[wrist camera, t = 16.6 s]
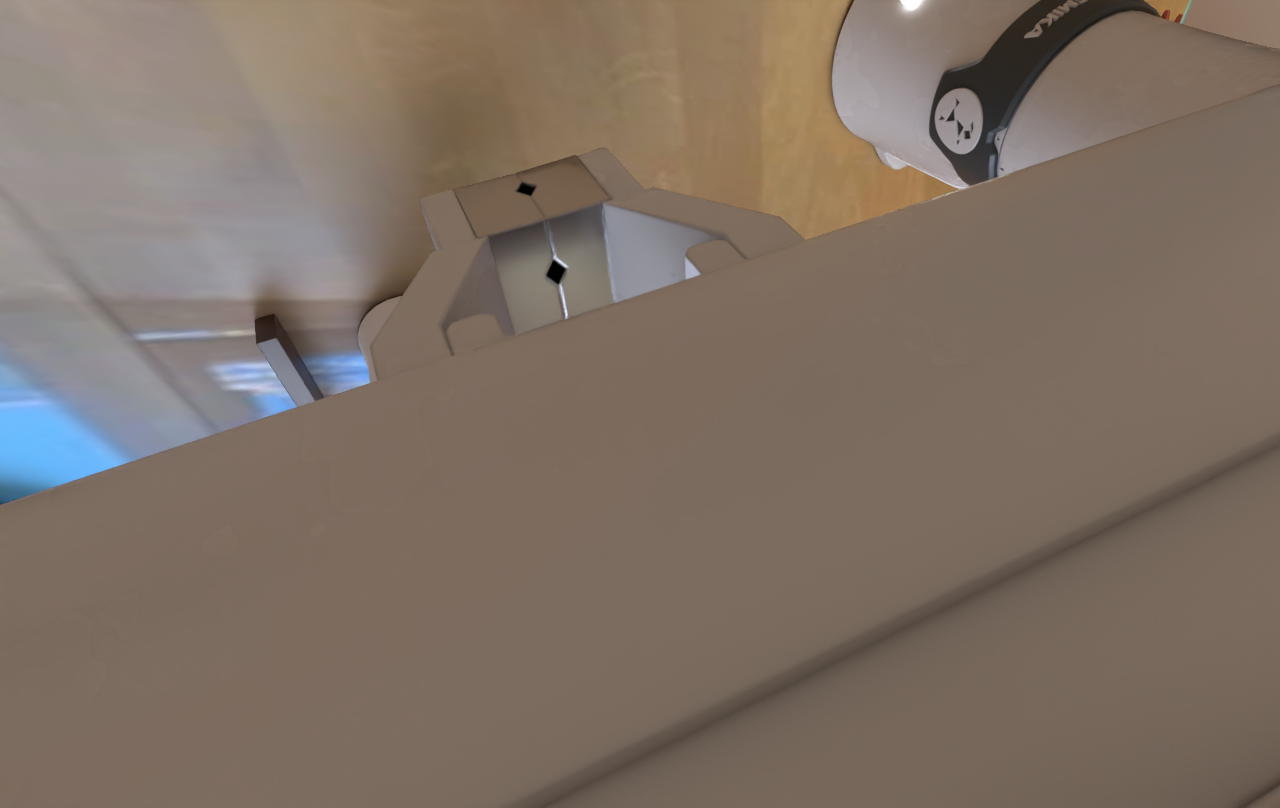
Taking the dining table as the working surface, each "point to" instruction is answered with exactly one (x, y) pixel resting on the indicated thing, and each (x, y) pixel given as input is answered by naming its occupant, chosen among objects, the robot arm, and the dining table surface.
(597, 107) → the dining table surface
